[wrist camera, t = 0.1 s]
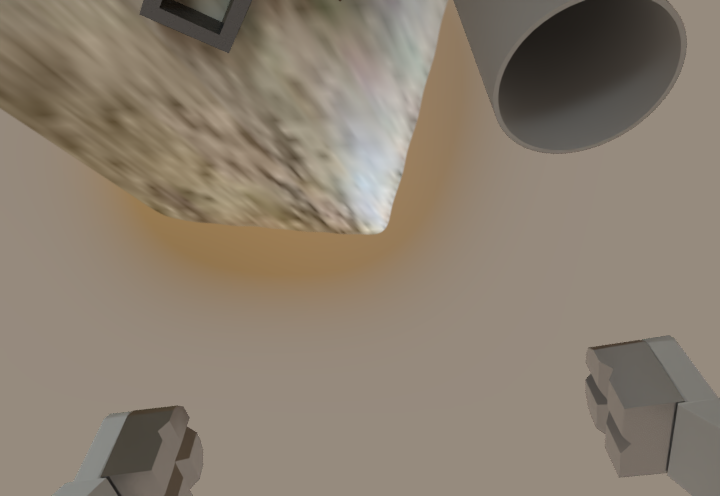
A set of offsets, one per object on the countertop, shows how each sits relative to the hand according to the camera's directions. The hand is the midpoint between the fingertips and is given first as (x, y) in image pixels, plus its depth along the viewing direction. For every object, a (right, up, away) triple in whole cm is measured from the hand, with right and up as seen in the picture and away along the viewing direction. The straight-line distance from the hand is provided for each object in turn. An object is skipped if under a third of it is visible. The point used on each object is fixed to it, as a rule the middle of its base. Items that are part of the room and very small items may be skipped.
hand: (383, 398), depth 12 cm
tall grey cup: (+13, +33, +43) cm, 56 cm away
